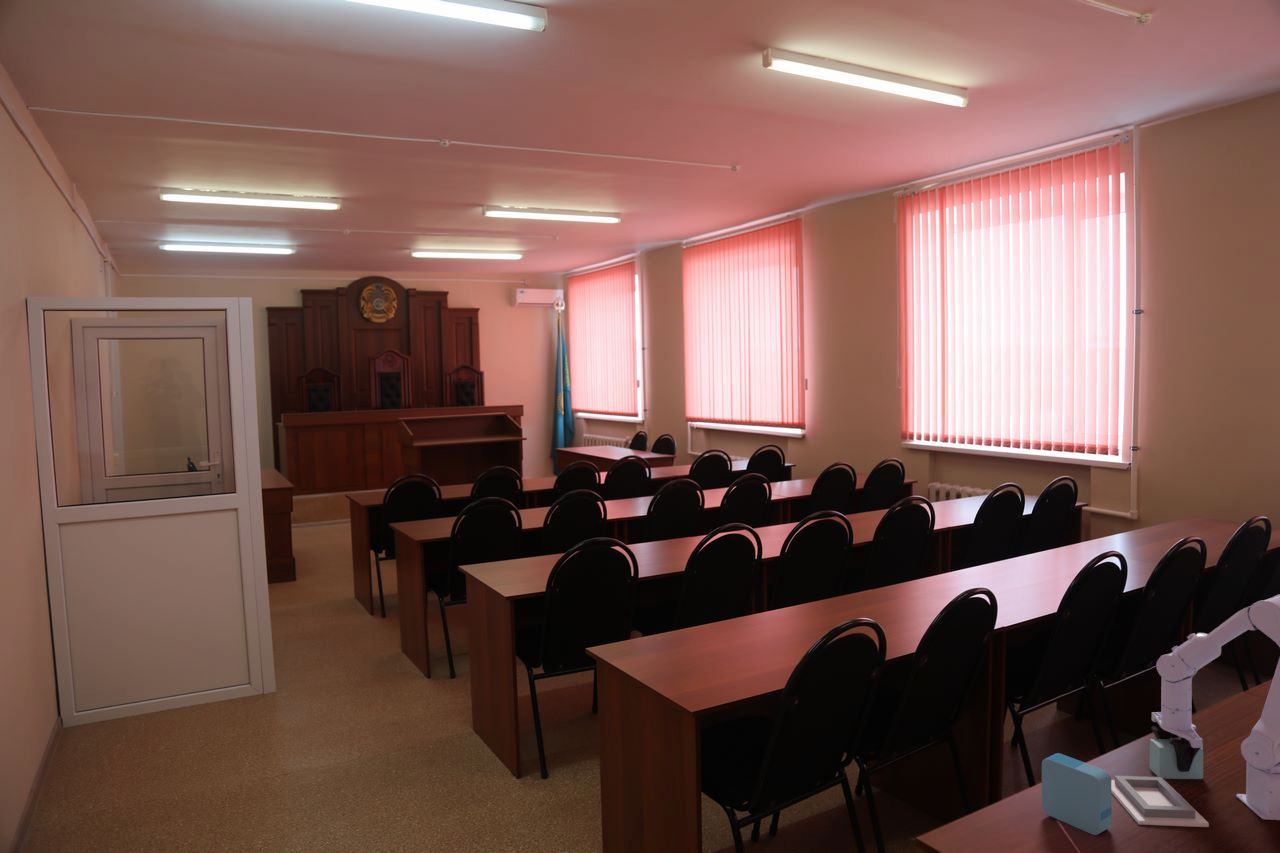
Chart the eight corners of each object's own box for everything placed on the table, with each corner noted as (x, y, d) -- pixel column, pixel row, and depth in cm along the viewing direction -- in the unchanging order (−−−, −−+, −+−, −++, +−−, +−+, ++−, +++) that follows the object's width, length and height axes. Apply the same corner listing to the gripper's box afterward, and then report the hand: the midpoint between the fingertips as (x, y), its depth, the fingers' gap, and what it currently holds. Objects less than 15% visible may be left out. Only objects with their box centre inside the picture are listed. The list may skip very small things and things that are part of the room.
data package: (1111, 831, 164) (1112, 772, 164) (1099, 838, 162) (1099, 778, 161) (1053, 805, 174) (1053, 750, 174) (1041, 812, 172) (1041, 756, 171)
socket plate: (1208, 827, 165) (1208, 814, 165) (1138, 824, 166) (1138, 812, 166) (1166, 785, 182) (1166, 774, 181) (1103, 783, 183) (1103, 772, 183)
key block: (1202, 779, 184) (1203, 743, 183) (1159, 778, 185) (1159, 742, 184) (1191, 769, 188) (1192, 734, 188) (1149, 768, 189) (1149, 733, 189)
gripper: (1216, 718, 178) (1216, 780, 179) (1173, 693, 193) (1172, 750, 193) (1184, 719, 178) (1183, 781, 179) (1142, 694, 193) (1142, 751, 193)
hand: (1175, 765), depth 186 cm, fingers closed on key block, 5 cm apart
